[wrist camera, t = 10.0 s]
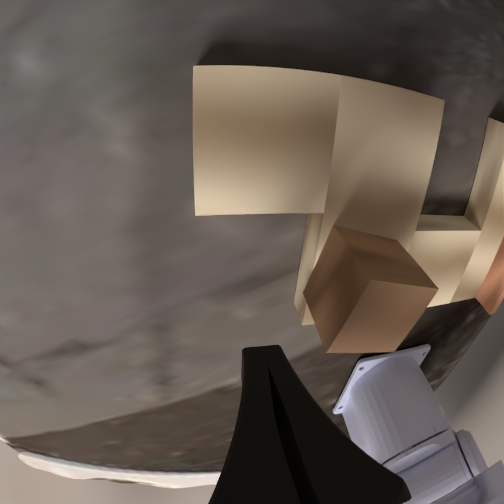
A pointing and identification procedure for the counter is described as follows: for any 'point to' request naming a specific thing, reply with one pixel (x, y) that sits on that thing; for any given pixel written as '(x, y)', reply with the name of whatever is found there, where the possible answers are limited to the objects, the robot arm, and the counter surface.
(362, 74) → the counter surface
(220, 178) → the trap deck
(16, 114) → the counter surface
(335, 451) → the robot arm
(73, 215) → the counter surface
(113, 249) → the counter surface
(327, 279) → the walnut cube
